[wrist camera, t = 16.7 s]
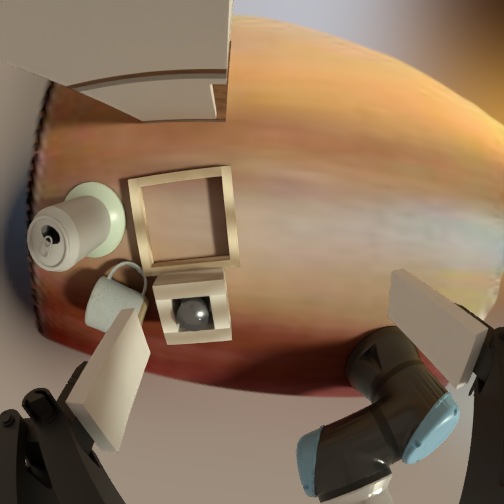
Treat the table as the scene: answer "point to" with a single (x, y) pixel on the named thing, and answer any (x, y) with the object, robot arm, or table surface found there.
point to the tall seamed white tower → (127, 52)
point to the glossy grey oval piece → (193, 313)
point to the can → (68, 232)
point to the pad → (114, 209)
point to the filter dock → (188, 264)
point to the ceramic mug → (114, 300)
